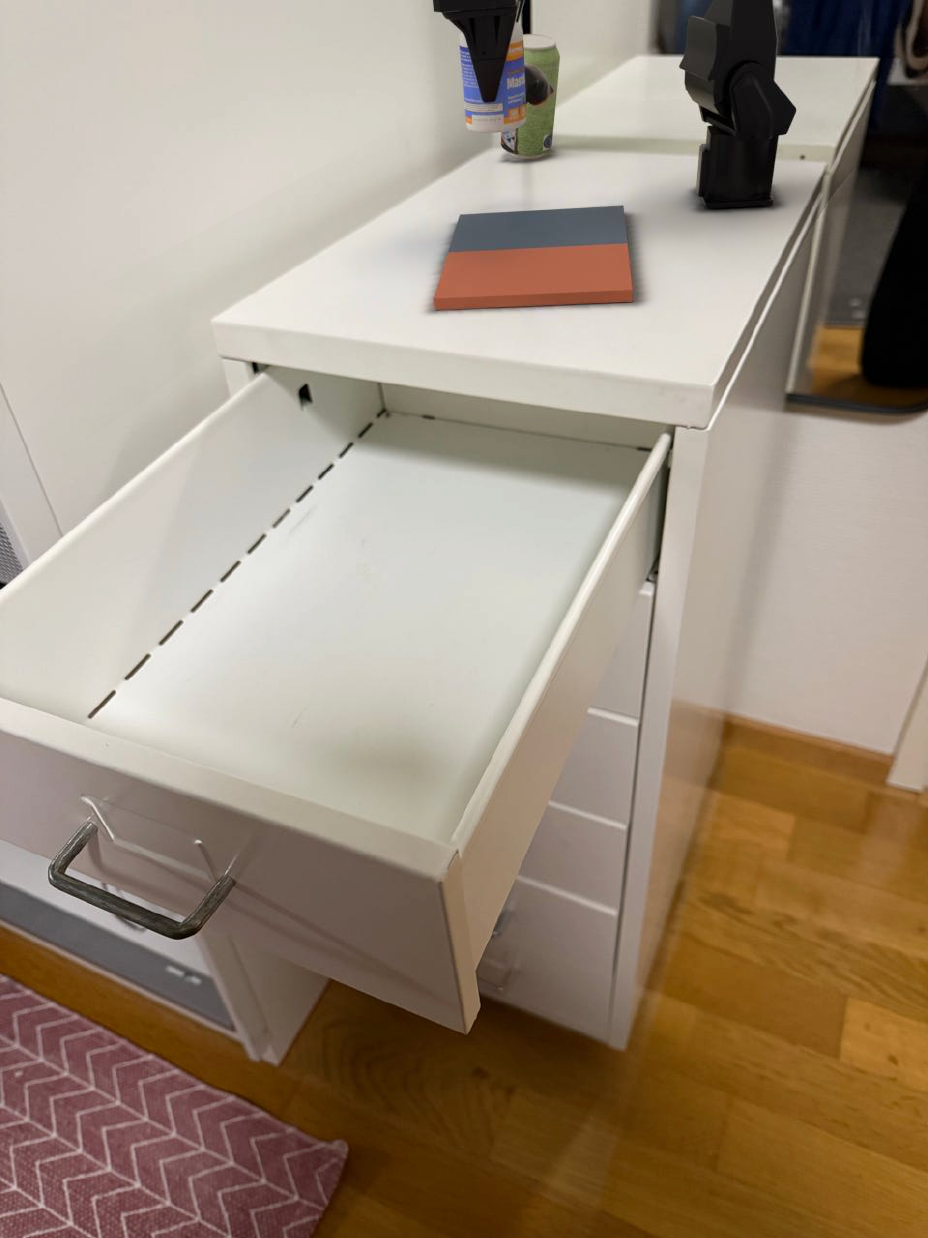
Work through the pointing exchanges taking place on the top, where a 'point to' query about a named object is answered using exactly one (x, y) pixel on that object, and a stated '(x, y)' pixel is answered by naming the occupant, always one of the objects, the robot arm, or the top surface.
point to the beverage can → (536, 99)
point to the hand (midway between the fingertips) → (492, 93)
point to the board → (537, 259)
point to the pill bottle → (510, 96)
